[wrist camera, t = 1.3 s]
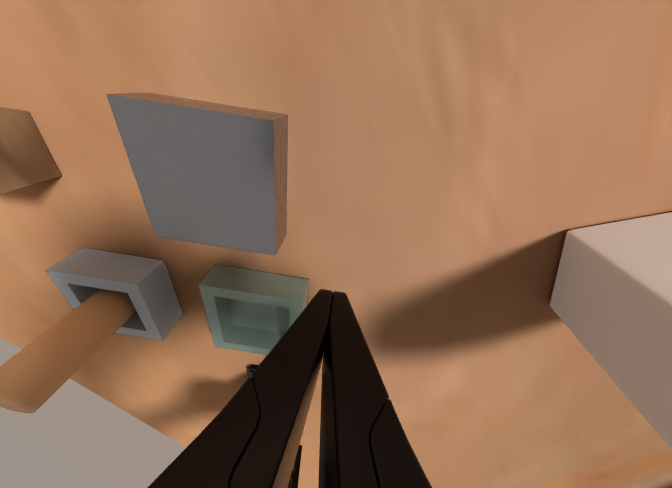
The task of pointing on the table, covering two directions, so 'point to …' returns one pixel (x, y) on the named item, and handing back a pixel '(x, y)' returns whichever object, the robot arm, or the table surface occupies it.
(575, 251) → the milk carton
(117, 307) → the dowel
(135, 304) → the socket block
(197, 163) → the grey slab
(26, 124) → the block
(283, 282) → the tray
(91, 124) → the table surface
